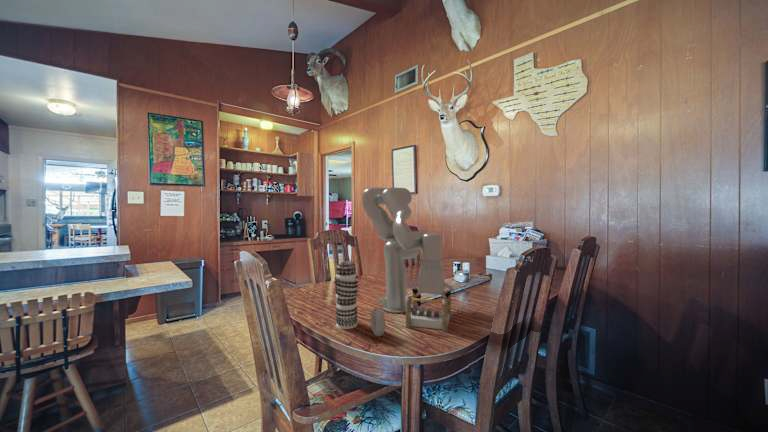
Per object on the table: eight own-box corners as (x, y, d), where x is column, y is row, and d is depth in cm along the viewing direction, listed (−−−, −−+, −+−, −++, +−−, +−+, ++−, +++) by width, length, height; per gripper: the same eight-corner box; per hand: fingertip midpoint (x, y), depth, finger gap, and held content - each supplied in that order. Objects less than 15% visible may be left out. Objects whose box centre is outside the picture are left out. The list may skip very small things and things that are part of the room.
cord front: (409, 300, 117) (409, 298, 117) (409, 300, 118) (409, 297, 118) (443, 303, 114) (443, 301, 114) (443, 303, 115) (443, 300, 114)
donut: (386, 340, 107) (386, 312, 107) (377, 341, 106) (377, 313, 105) (378, 329, 116) (377, 303, 116) (369, 330, 115) (369, 304, 115)
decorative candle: (342, 319, 127) (341, 259, 126) (362, 322, 124) (361, 260, 123) (330, 327, 119) (329, 263, 118) (351, 330, 115) (350, 265, 114)
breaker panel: (408, 325, 120) (408, 313, 120) (413, 316, 130) (413, 305, 129) (446, 329, 116) (446, 317, 115) (449, 320, 125) (449, 308, 125)
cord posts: (405, 327, 118) (405, 297, 117) (413, 314, 132) (413, 287, 132) (447, 332, 113) (447, 300, 113) (451, 318, 127) (451, 289, 127)
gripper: (408, 264, 120) (408, 307, 121) (453, 267, 115) (452, 312, 116) (412, 261, 128) (412, 301, 128) (454, 263, 123) (454, 305, 123)
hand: (431, 306), depth 122 cm, fingers open, 9 cm apart
